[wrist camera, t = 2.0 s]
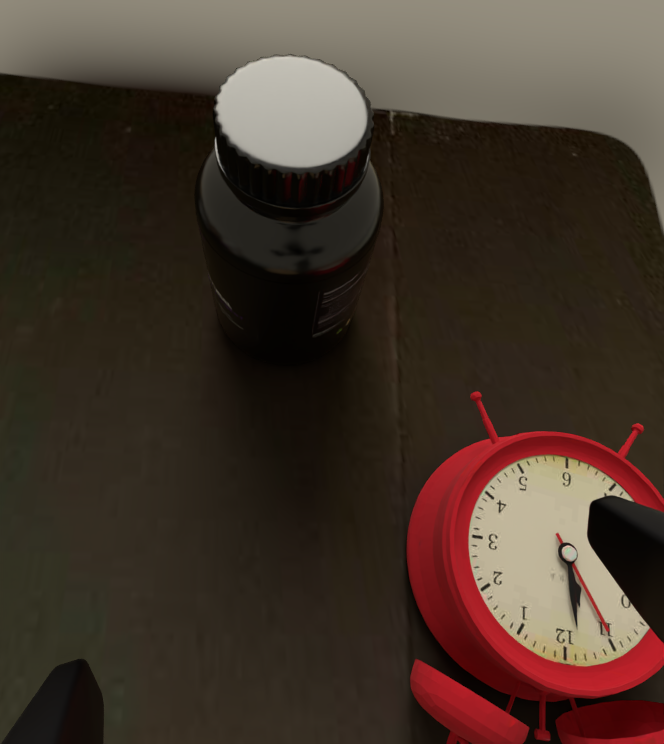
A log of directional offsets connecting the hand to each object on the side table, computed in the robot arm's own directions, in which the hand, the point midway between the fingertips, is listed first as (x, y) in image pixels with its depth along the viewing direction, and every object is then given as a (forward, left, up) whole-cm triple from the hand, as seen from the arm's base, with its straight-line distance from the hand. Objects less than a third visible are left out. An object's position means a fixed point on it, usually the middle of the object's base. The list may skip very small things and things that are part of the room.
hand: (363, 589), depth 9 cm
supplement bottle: (+3, -13, -14) cm, 19 cm away
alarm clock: (-9, -1, -14) cm, 16 cm away
